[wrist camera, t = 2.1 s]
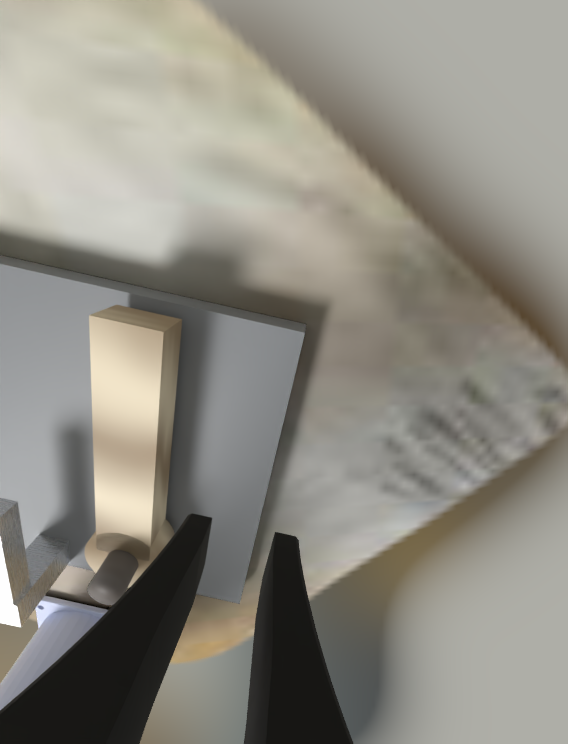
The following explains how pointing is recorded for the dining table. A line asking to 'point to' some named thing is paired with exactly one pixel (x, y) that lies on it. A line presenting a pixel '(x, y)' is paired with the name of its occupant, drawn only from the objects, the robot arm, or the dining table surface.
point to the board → (191, 416)
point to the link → (130, 443)
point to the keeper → (25, 566)
